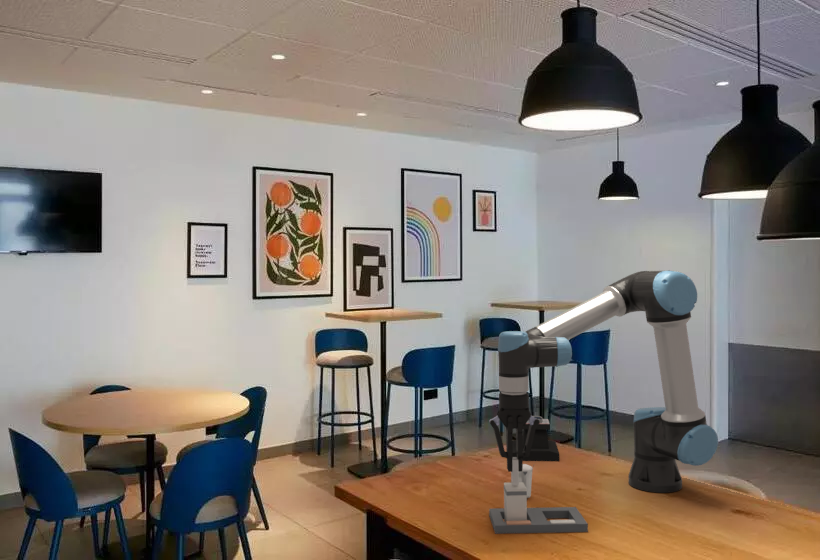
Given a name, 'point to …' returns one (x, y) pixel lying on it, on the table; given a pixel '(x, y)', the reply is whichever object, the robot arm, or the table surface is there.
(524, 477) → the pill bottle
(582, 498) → the table surface
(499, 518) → the socket block
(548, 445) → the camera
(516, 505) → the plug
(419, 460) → the table surface
